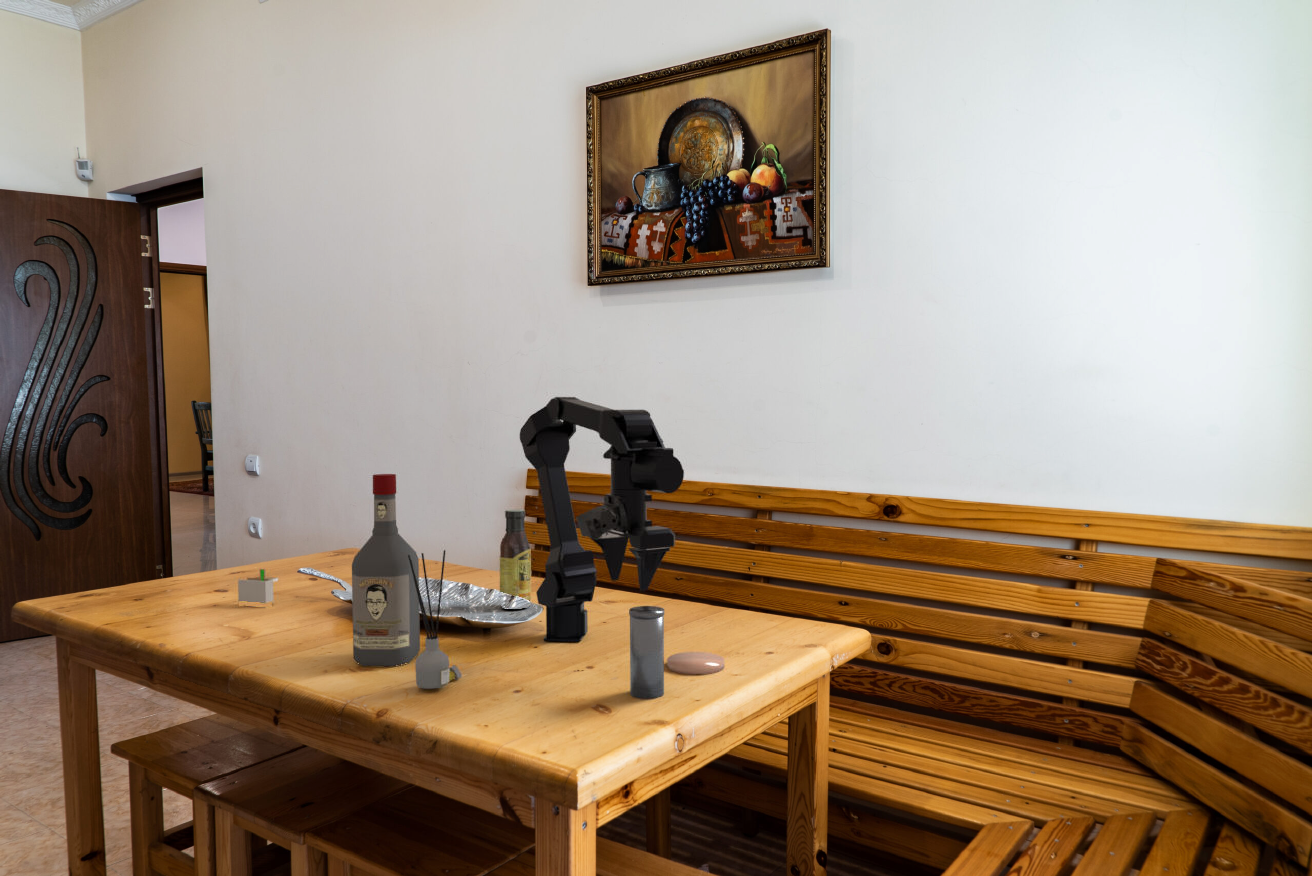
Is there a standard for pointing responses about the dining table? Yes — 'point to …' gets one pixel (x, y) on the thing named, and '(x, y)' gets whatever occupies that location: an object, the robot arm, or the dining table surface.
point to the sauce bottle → (515, 557)
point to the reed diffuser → (432, 647)
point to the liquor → (385, 588)
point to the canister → (646, 652)
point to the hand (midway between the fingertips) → (628, 585)
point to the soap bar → (695, 663)
